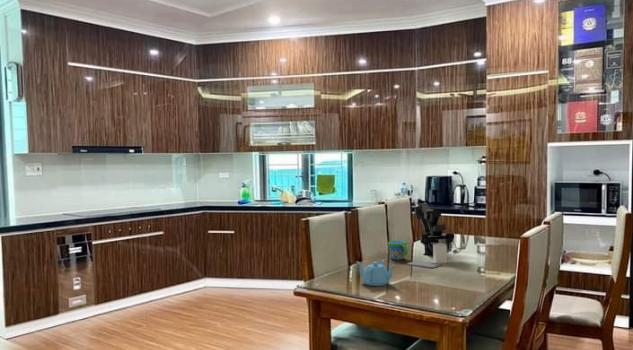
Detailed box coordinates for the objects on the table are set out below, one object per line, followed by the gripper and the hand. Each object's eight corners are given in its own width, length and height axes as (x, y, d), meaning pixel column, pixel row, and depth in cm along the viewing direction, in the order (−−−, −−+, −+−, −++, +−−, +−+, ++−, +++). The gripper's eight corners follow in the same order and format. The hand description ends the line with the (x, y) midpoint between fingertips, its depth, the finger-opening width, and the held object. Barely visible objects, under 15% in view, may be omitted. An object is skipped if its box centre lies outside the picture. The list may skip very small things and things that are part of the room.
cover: (433, 261, 263) (432, 243, 262) (443, 260, 263) (443, 243, 262) (436, 263, 257) (435, 245, 256) (447, 262, 257) (446, 245, 256)
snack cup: (412, 260, 266) (412, 243, 266) (397, 262, 262) (396, 244, 262) (398, 256, 281) (397, 239, 280) (383, 258, 277) (382, 241, 276)
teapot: (365, 289, 209) (365, 266, 209) (356, 281, 224) (355, 260, 224) (396, 286, 212) (395, 264, 212) (384, 278, 227) (383, 257, 227)
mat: (406, 264, 255) (406, 263, 255) (416, 261, 262) (416, 260, 262) (432, 268, 244) (432, 267, 244) (442, 265, 251) (441, 263, 251)
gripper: (420, 220, 263) (426, 242, 252) (452, 218, 264) (459, 241, 253) (417, 231, 271) (423, 253, 260) (449, 230, 272) (455, 252, 261)
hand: (440, 250), depth 258 cm, fingers open, 9 cm apart
